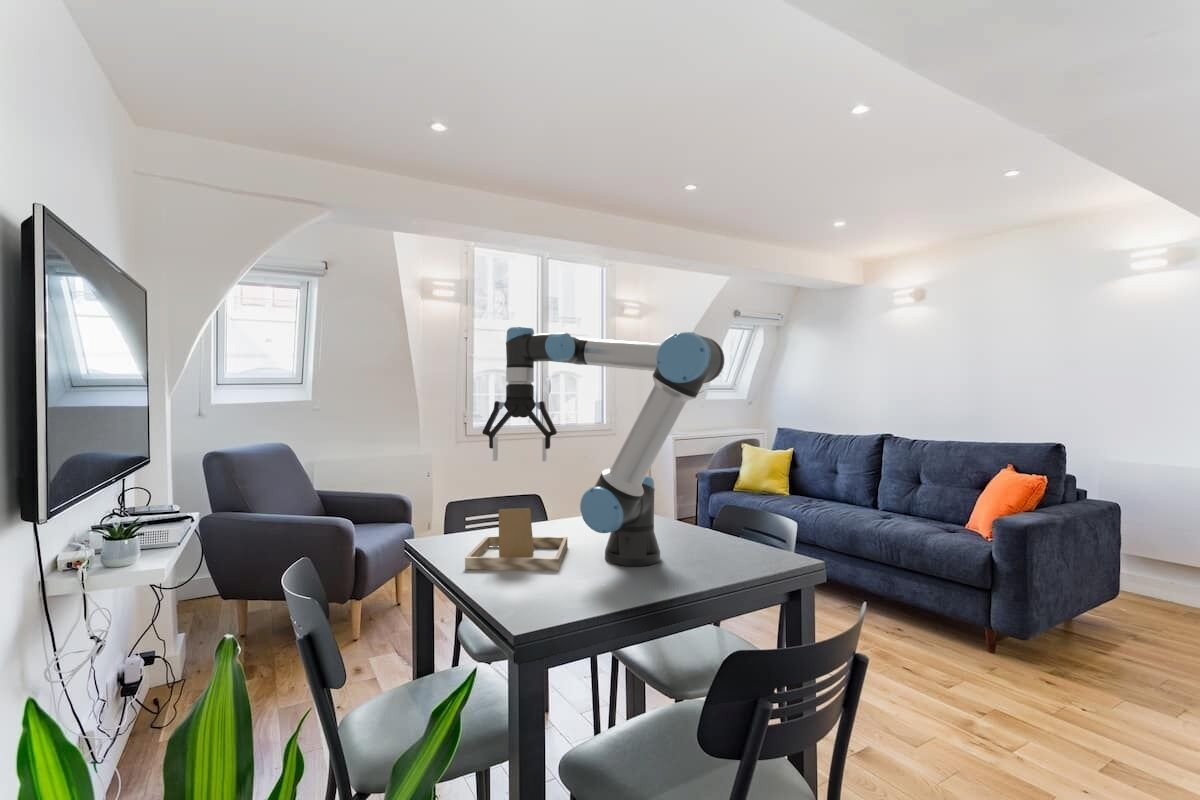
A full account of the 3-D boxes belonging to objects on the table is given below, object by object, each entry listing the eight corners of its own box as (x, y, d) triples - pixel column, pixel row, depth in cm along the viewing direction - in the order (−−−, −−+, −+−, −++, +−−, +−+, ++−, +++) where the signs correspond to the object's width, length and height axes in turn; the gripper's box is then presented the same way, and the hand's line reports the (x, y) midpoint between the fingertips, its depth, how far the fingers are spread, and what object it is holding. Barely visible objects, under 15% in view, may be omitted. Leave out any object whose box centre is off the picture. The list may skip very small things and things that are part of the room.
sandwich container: (534, 550, 171) (535, 498, 171) (531, 565, 156) (531, 508, 156) (505, 550, 171) (505, 499, 171) (498, 565, 156) (498, 508, 156)
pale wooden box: (567, 547, 174) (567, 537, 174) (558, 570, 150) (558, 559, 150) (486, 546, 175) (486, 536, 175) (465, 569, 151) (465, 557, 151)
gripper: (566, 384, 166) (566, 459, 166) (478, 383, 167) (478, 459, 167) (563, 383, 159) (563, 462, 159) (471, 383, 160) (471, 461, 160)
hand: (519, 460), depth 163 cm, fingers open, 13 cm apart
